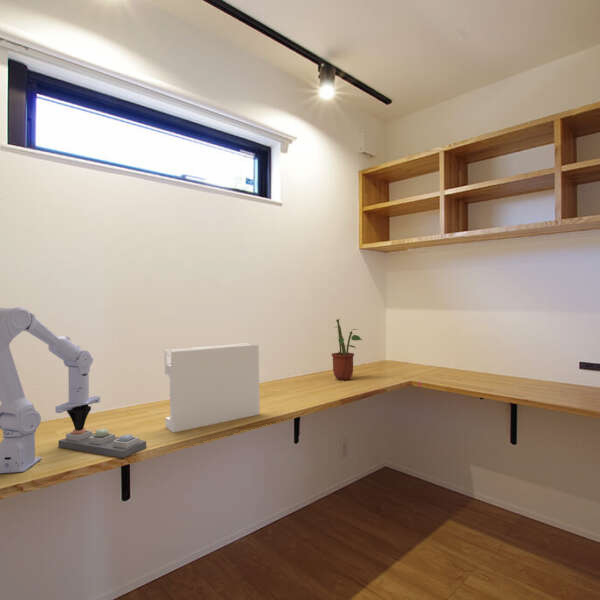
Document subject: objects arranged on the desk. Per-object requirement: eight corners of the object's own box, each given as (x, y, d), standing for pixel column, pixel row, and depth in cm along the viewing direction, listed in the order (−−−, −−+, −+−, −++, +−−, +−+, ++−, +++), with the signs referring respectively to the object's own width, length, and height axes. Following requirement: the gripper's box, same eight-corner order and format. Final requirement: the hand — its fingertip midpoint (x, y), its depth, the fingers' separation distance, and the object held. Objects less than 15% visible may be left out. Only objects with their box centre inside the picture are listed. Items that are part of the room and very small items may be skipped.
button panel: (146, 447, 123) (146, 435, 123) (123, 458, 114) (123, 445, 114) (83, 438, 133) (83, 427, 133) (58, 447, 125) (58, 435, 125)
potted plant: (334, 381, 223) (332, 319, 224) (329, 377, 239) (328, 319, 239) (364, 380, 225) (363, 319, 225) (358, 376, 240) (356, 318, 241)
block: (173, 432, 137) (172, 351, 138) (165, 427, 144) (164, 349, 144) (259, 414, 159) (258, 344, 159) (249, 410, 165) (248, 343, 165)
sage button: (110, 433, 125) (110, 429, 125) (101, 437, 121) (101, 432, 121) (102, 432, 126) (102, 428, 126) (92, 436, 123) (92, 431, 123)
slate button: (135, 440, 121) (135, 435, 121) (126, 443, 117) (126, 438, 118) (126, 438, 122) (126, 433, 122) (117, 442, 119) (116, 437, 119)
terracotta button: (88, 433, 128) (88, 428, 128) (78, 436, 125) (78, 431, 125) (80, 432, 130) (80, 427, 130) (70, 435, 126) (70, 430, 126)
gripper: (66, 393, 119) (67, 438, 119) (106, 384, 133) (107, 424, 133) (50, 391, 122) (51, 435, 122) (91, 382, 136) (91, 422, 135)
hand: (79, 429), depth 127 cm, fingers closed, pressing on terracotta button
